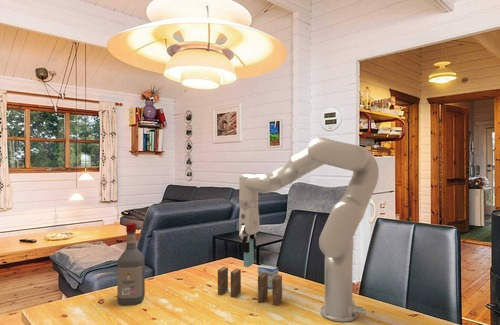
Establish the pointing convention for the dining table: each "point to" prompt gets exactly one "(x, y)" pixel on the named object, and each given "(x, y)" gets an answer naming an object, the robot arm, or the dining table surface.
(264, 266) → the medicine box
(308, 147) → the robot arm
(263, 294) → the domino
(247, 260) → the domino
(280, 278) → the domino
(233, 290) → the domino
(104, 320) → the dining table surface
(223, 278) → the domino
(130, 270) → the liquor
